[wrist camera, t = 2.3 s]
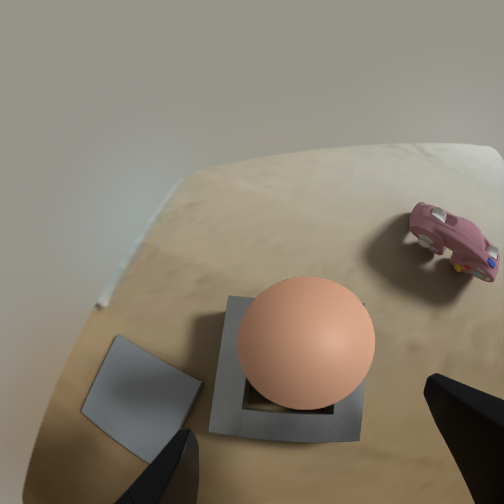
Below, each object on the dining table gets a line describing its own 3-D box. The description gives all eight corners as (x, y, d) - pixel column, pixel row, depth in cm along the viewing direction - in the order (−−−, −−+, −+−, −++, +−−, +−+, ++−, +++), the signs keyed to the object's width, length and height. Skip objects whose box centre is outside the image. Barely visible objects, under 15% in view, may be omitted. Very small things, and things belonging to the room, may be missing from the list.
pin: (316, 402, 16) (373, 409, 6) (258, 399, 17) (227, 403, 7) (320, 348, 18) (372, 278, 8) (264, 344, 19) (245, 272, 9)
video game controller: (395, 242, 24) (409, 227, 17) (413, 203, 23) (430, 177, 17) (470, 292, 20) (502, 292, 14) (486, 252, 20) (519, 241, 13)
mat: (203, 382, 18) (201, 382, 17) (161, 467, 14) (158, 469, 14) (121, 335, 20) (117, 333, 19) (85, 411, 17) (81, 411, 16)
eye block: (347, 435, 15) (359, 441, 12) (218, 426, 16) (208, 431, 13) (353, 316, 19) (364, 303, 17) (235, 309, 20) (228, 295, 18)
